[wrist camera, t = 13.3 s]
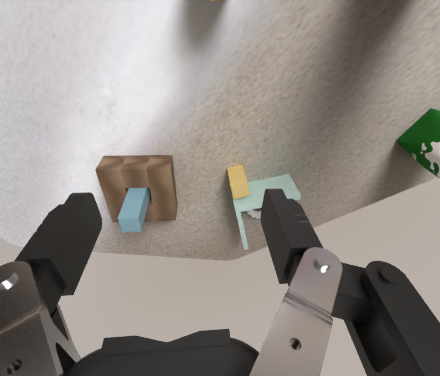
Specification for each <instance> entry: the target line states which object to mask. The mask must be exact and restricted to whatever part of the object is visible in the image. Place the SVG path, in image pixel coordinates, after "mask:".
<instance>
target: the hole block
mask: <svg viewBox="0 0 440 376" xmlns="http://www.w3.org/2000/svg"><path fill="white" fill-rule="evenodd" d="M96 173H97V176H98V179H99V182H100V185H101V188H102V191H103V194H104V197H105V200H106V203H107V206H108V209H109V212H110V215H111V218H112V221H113V222H119V221H118V216H119V214H120V211H121V208H122V205H123V203H124V200H125V197H126V195H127V192H128V189H129V188H150V192H151V195H150V199H149V203H148V207H147V211H146V215H145V220H144V221H167V220H176V214H177V197H176V187H175V177H174V167H173V157H172V155H150V156H104V157H103V158H102V160H101V162H100V163H99V165H98V166H97V168H96Z"/></svg>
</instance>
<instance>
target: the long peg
mask: <svg viewBox="0 0 440 376" xmlns="http://www.w3.org/2000/svg"><path fill="white" fill-rule="evenodd" d="M150 195H151V192H150V188H129V189H128V192H127V195H126V197H125V200H124V203H123V205H122V208H121V211H120V214H119V216H118V221H119V224H120V227H121V231H122V232H142V228H143V224H144V220H145V215H146V211H147V207H148V203H149V199H150Z"/></svg>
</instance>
